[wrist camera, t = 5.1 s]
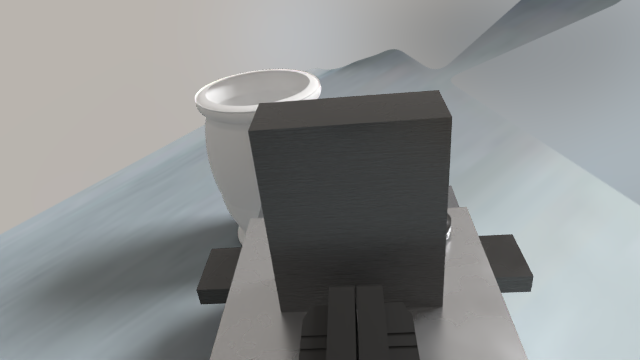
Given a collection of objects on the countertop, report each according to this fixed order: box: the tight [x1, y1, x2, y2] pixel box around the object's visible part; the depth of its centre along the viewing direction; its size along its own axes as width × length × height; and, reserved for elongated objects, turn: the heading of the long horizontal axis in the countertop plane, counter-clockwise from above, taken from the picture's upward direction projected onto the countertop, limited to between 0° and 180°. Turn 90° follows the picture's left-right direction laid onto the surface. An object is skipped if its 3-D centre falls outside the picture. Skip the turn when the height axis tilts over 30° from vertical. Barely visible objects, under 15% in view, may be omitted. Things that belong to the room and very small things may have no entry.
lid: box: [210, 90, 528, 360], centre depth 23 cm, size 14×14×11 cm
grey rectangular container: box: [197, 186, 533, 304], centre depth 32 cm, size 20×14×9 cm
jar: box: [195, 69, 321, 245], centre depth 44 cm, size 11×10×15 cm
